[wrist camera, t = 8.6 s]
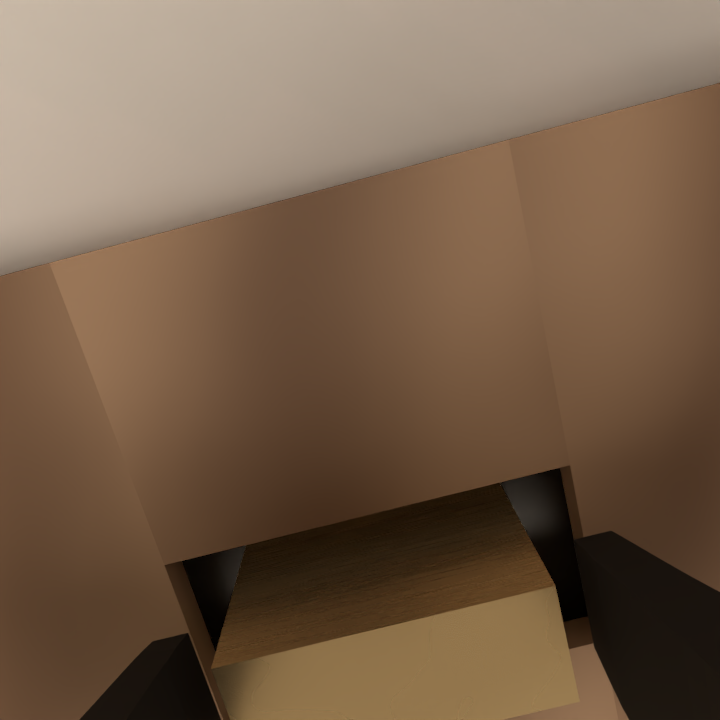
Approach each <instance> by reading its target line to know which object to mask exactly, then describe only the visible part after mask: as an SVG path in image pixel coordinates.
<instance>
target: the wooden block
mask: <svg viewBox="0 0 720 720" xmlns="http://www.w3.org/2000/svg"><path fill="white" fill-rule="evenodd" d="M211 671H212V673H213V676H214V679H215V681H216V684H217V687H218V689H219V692H220V694H221V697H222V700H223V702H224V705H225V708H226V710H227V713H228V715H229V718H230V720H504V719H508V718H512V717H517V716H521V715H525V714H530V713H534V712H538V711H542V710H547V709H551V708H555V707H560V706H564V705H568V704H572V703H577V702H580V700H579V695H578V691H577V686H576V681H575V676H574V672H573V667H572V662H571V657H570V653H569V648H568V643H567V638H566V633H565V629H564V624H563V619H562V614H561V610H560V605H559V600H558V595H557V591H556V586H555V584H554V582H553V580H552V579H551V577H550V575H549V573H548V571H547V569H546V567H545V566H544V564H543V562H542V560H541V558H540V556H539V555H538V553H537V551H536V549H535V547H534V545H533V544H532V542H531V540H530V538H529V536H528V534H527V532H526V531H525V529H524V527H523V525H522V523H521V521H520V520H519V518H518V516H517V514H516V512H515V510H514V508H513V507H512V505H511V503H510V501H509V499H508V497H507V496H506V494H505V492H504V490H503V488H502V486H501V485H500V483H496V484H492V485H488V486H484V487H480V488H475V489H471V490H467V491H463V492H459V493H455V494H451V495H447V496H443V497H439V498H435V499H431V500H427V501H423V502H419V503H415V504H411V505H407V506H402V507H398V508H394V509H390V510H386V511H382V512H378V513H374V514H370V515H366V516H362V517H358V518H354V519H350V520H346V521H342V522H338V523H333V524H329V525H325V526H321V527H317V528H313V529H309V530H305V531H301V532H297V533H293V534H289V535H285V536H281V537H277V538H273V539H269V540H264V541H260V542H256V543H252V544H248V545H246V548H245V552H244V555H243V558H242V562H241V565H240V569H239V572H238V576H237V579H236V583H235V586H234V590H233V593H232V597H231V600H230V604H229V607H228V611H227V614H226V618H225V621H224V625H223V628H222V632H221V635H220V639H219V642H218V646H217V649H216V653H215V656H214V660H213V663H212V667H211Z"/></svg>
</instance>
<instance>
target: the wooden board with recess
mask: <svg viewBox="0 0 720 720" xmlns="http://www.w3.org/2000/svg"><path fill="white" fill-rule="evenodd" d="M557 468H560V470H561V475H562V481H563V486H564V491H565V496H566V501H567V506H568V512H569V517H570V522H571V527H572V532H573V537H574V539H578V538H582V537H587V536H591V535H595V534H599V533H603V532H607V531H613V532H615V533H617V534H618V535H620V536H622V537H624V538H625V539H627V540H629V541H630V542H632V543H634V544H636V545H637V546H639V547H641V548H642V549H644V550H646V551H648V552H649V553H651V554H653V555H654V556H656V557H658V558H660V559H661V560H663V561H665V562H667V563H668V564H670V565H672V566H673V567H675V568H677V569H679V570H681V571H682V572H684V573H686V574H688V575H689V576H691V577H693V578H695V579H697V580H699V581H700V582H702V583H704V584H706V585H708V586H710V587H711V588H713V589H715V590H717V591H719V592H720V83H718V84H714V85H710V86H707V87H703V88H699V89H695V90H692V91H688V92H684V93H680V94H677V95H673V96H669V97H666V98H662V99H658V100H654V101H651V102H647V103H643V104H640V105H636V106H632V107H628V108H625V109H621V110H617V111H613V112H610V113H606V114H602V115H599V116H595V117H591V118H587V119H584V120H580V121H576V122H573V123H569V124H565V125H561V126H558V127H554V128H550V129H546V130H543V131H539V132H535V133H532V134H528V135H524V136H520V137H517V138H513V139H509V140H505V141H502V142H498V143H494V144H491V145H487V146H483V147H479V148H476V149H472V150H468V151H465V152H461V153H457V154H453V155H450V156H446V157H442V158H438V159H435V160H431V161H427V162H424V163H420V164H416V165H412V166H409V167H405V168H401V169H398V170H394V171H390V172H386V173H383V174H379V175H375V176H371V177H368V178H364V179H360V180H357V181H353V182H349V183H345V184H342V185H338V186H334V187H331V188H327V189H323V190H319V191H316V192H312V193H308V194H304V195H301V196H297V197H293V198H290V199H286V200H282V201H278V202H275V203H271V204H267V205H263V206H260V207H256V208H252V209H249V210H245V211H241V212H237V213H234V214H230V215H226V216H223V217H219V218H215V219H211V220H208V221H204V222H200V223H196V224H193V225H189V226H185V227H182V228H178V229H174V230H170V231H167V232H163V233H159V234H156V235H152V236H148V237H144V238H141V239H137V240H133V241H129V242H126V243H122V244H118V245H115V246H111V247H107V248H103V249H100V250H96V251H92V252H88V253H85V254H81V255H77V256H74V257H70V258H66V259H62V260H59V261H55V262H51V263H48V264H44V265H40V266H36V267H33V268H29V269H25V270H21V271H18V272H14V273H10V274H7V275H3V276H0V720H80V718H81V717H82V716H83V715H84V714H85V713H86V712H87V711H88V710H89V709H90V707H91V706H92V705H93V704H94V703H95V702H96V701H97V700H98V699H99V698H100V696H101V695H102V694H103V693H104V692H105V691H106V690H107V689H108V688H109V686H110V685H111V684H112V683H113V682H114V681H115V680H116V679H117V678H118V676H119V675H120V674H121V673H122V672H123V671H124V670H125V669H126V668H127V667H128V666H129V664H130V663H131V662H132V661H133V660H134V659H135V658H136V657H137V656H138V655H139V654H140V653H141V652H142V651H143V650H144V649H145V648H146V647H147V646H148V645H149V644H150V643H151V642H152V641H156V640H160V639H164V638H168V637H173V636H177V635H181V634H185V633H188V634H189V636H190V639H191V642H192V644H193V647H194V650H195V652H196V655H197V657H198V660H199V663H200V665H201V668H202V671H203V673H204V676H205V678H206V681H207V684H208V686H209V689H210V692H211V694H212V697H213V699H214V702H215V705H216V707H217V710H218V713H219V715H220V718H221V720H230V718H229V715H228V713H227V710H226V708H225V705H224V702H223V700H222V697H221V694H220V692H219V689H218V687H217V684H216V681H215V679H214V676H213V673H212V671H211V667H212V663H213V660H214V656H215V653H216V652H215V649H214V647H213V644H212V641H211V639H210V636H209V633H208V631H207V628H206V625H205V623H204V620H203V617H202V615H201V612H200V609H199V606H198V604H197V601H196V598H195V596H194V593H193V590H192V588H191V585H190V582H189V580H188V577H187V574H186V571H185V569H184V566H183V563H182V561H183V560H187V559H191V558H195V557H200V556H204V555H208V554H212V553H216V552H220V551H224V550H228V549H232V548H236V547H240V546H244V545H248V544H252V543H256V542H260V541H264V540H269V539H273V538H277V537H281V536H285V535H289V534H293V533H297V532H301V531H305V530H309V529H313V528H317V527H321V526H325V525H329V524H333V523H338V522H342V521H346V520H350V519H354V518H358V517H362V516H366V515H370V514H374V513H378V512H382V511H386V510H390V509H394V508H398V507H402V506H407V505H411V504H415V503H419V502H423V501H427V500H431V499H435V498H439V497H443V496H447V495H451V494H455V493H459V492H463V491H467V490H471V489H475V488H480V487H484V486H488V485H492V484H496V483H500V482H504V481H508V480H512V479H516V478H520V477H524V476H528V475H532V474H536V473H540V472H544V471H549V470H553V469H557ZM563 624H564V629H565V633H566V638H567V643H568V648H569V653H570V657H571V662H572V667H573V672H574V676H575V681H576V686H577V691H578V695H579V700H580V702H577V703H572V704H568V705H564V706H560V707H555V708H551V709H547V710H542V711H538V712H534V713H530V714H525V715H521V716H517V717H512V718H508V719H504V720H629V718H628V717H627V715H626V713H625V712H624V710H623V708H622V706H621V704H620V702H619V700H618V698H617V695H616V693H615V691H614V689H613V687H612V685H611V683H610V681H609V679H608V676H607V674H606V672H605V670H604V668H603V666H602V663H601V661H600V659H599V657H598V655H597V652H596V650H595V648H594V644H593V639H592V634H591V629H590V624H589V618H588V616H587V617H583V618H578V619H574V620H570V621H566V622H563Z"/></svg>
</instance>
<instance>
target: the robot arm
mask: <svg viewBox="0 0 720 720" xmlns="http://www.w3.org/2000/svg"><path fill="white" fill-rule="evenodd" d="M573 541H574V546H575V551H576V557H577V562H578V567H579V572H580V577H581V582H582V588H583V593H584V598H585V603H586V608H587V613H588V618H589V624H590V629H591V634H592V639H593V644H594V648H595V650H596V652H597V655H598V657H599V659H600V661H601V663H602V666H603V668H604V670H605V672H606V674H607V676H608V679H609V681H610V683H611V685H612V687H613V689H614V691H615V693H616V695H617V698H618V700H619V702H620V704H621V706H622V708H623V710H624V712H625V713H626V715H627V717H628V718H629V720H720V592H719V591H717V590H715V589H713V588H711V587H710V586H708V585H706V584H704V583H702V582H700V581H699V580H697V579H695V578H693V577H691V576H689V575H688V574H686V573H684V572H682V571H681V570H679V569H677V568H675V567H673V566H672V565H670V564H668V563H667V562H665V561H663V560H661V559H660V558H658V557H656V556H654V555H653V554H651V553H649V552H648V551H646V550H644V549H642V548H641V547H639V546H637V545H636V544H634V543H632V542H630V541H629V540H627V539H625V538H624V537H622V536H620V535H618V534H617V533H615V532H613V531H607V532H603V533H599V534H595V535H591V536H587V537H582V538H578V539H574V540H573ZM80 720H221V718H220V715H219V713H218V710H217V707H216V705H215V702H214V699H213V697H212V694H211V692H210V689H209V686H208V684H207V681H206V678H205V676H204V673H203V671H202V668H201V665H200V663H199V660H198V657H197V655H196V652H195V650H194V647H193V644H192V642H191V639H190V636H189V634H188V633H185V634H181V635H177V636H173V637H168V638H164V639H160V640H156V641H152V642H151V643H150V644H149V645H148V646H147V647H146V648H145V649H144V650H143V651H142V652H141V653H140V654H139V655H138V656H137V657H136V658H135V659H134V660H133V661H132V662H131V663H130V664H129V666H128V667H127V668H126V669H125V670H124V671H123V672H122V673H121V674H120V675H119V676H118V678H117V679H116V680H115V681H114V682H113V683H112V684H111V685H110V686H109V688H108V689H107V690H106V691H105V692H104V693H103V694H102V695H101V696H100V698H99V699H98V700H97V701H96V702H95V703H94V704H93V705H92V706H91V707H90V709H89V710H88V711H87V712H86V713H85V714H84V715H83V716H82V717H81V718H80Z"/></svg>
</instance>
